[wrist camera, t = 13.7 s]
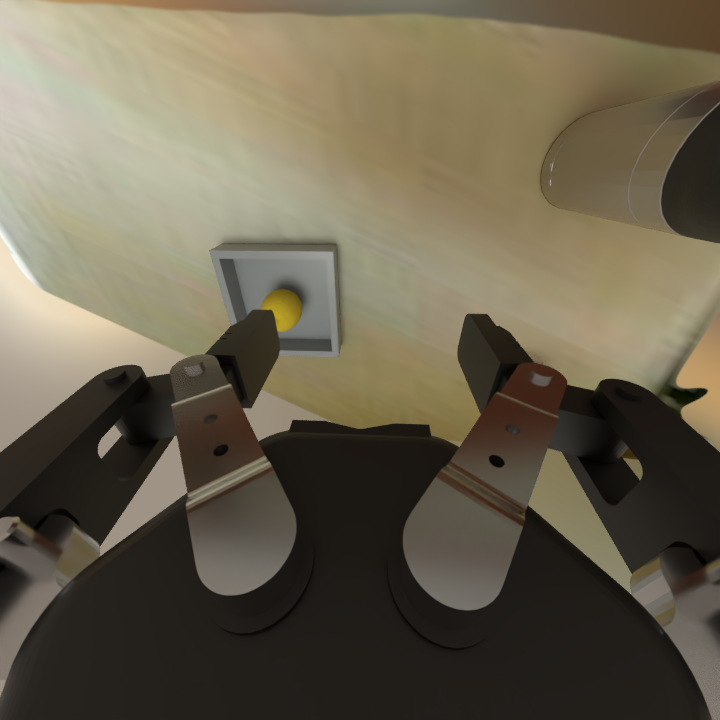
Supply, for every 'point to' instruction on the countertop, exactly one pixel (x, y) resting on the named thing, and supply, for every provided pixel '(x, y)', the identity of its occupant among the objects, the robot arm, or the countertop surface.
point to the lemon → (283, 308)
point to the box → (291, 272)
